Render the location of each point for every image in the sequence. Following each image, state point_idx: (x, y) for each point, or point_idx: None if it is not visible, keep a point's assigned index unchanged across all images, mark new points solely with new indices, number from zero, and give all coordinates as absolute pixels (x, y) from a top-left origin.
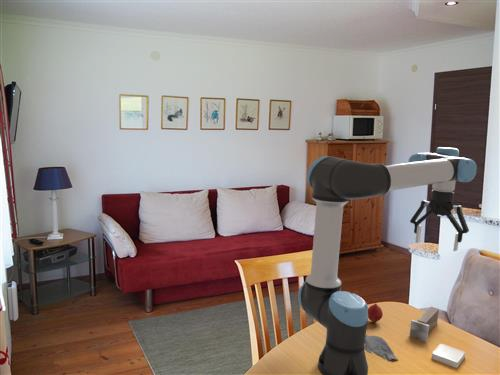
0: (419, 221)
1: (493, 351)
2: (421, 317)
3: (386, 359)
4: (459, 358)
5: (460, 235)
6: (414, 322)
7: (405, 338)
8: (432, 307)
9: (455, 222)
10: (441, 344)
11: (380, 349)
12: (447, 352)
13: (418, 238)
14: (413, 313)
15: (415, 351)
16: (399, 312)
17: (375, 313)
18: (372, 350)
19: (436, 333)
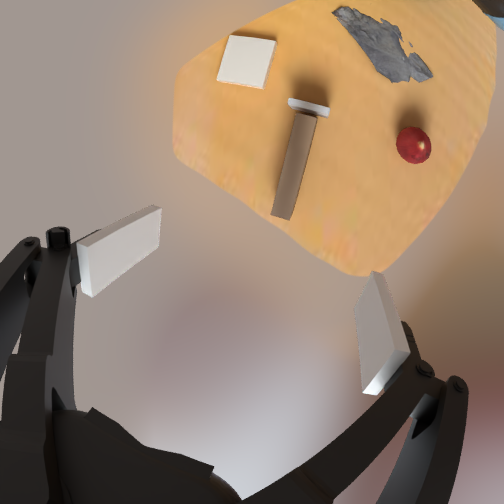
0: (405, 390)
1: (175, 137)
2: (308, 138)
3: (351, 9)
4: (226, 50)
5: (74, 245)
6: (322, 106)
7: (335, 97)
8: (285, 217)
9: (31, 306)
10: (260, 83)
11: (370, 30)
12: (248, 59)
13: (371, 295)
14: (327, 234)
15: (308, 54)
16: (357, 225)
17: (413, 128)
18: (382, 27)
19: (275, 153)
